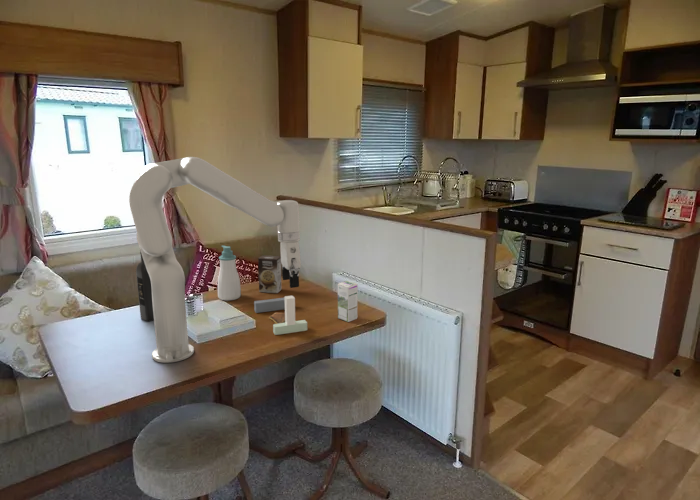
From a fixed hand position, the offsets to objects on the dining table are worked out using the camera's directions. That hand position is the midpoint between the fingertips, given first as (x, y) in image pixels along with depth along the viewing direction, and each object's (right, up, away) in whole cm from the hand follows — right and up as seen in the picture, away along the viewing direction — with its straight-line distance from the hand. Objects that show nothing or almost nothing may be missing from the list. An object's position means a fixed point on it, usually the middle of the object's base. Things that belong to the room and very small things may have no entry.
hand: (290, 283), depth 161 cm
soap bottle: (-32, -9, +39) cm, 51 cm away
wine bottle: (-56, -15, +14) cm, 60 cm away
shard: (-5, -16, +14) cm, 22 cm away
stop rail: (-10, -13, +25) cm, 30 cm away
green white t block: (-1, -18, +4) cm, 18 cm away
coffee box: (-16, -7, +49) cm, 52 cm away
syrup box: (+20, -15, +16) cm, 30 cm away
